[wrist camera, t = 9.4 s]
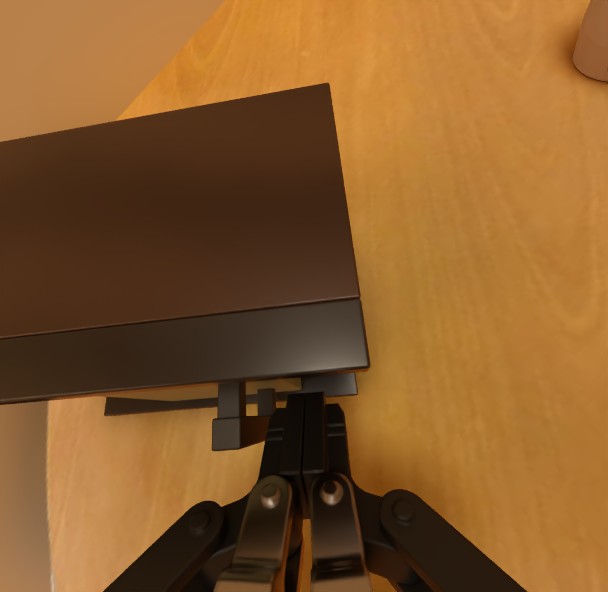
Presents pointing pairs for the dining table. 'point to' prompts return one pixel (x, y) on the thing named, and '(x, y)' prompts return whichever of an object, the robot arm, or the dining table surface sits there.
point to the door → (231, 408)
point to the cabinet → (180, 256)
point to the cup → (593, 42)
